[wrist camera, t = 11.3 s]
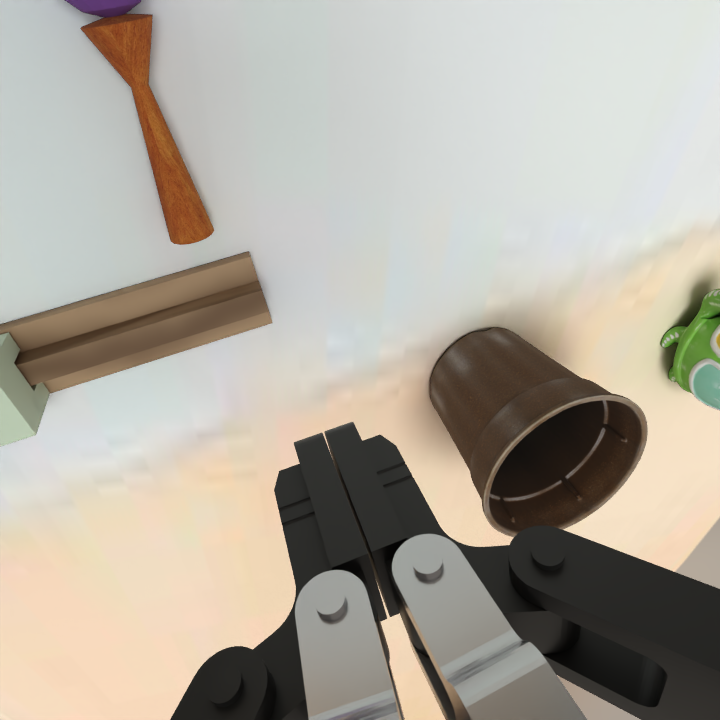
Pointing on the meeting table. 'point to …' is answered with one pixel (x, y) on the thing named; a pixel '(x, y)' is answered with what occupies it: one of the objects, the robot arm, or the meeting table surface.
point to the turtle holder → (698, 352)
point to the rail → (139, 323)
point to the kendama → (148, 112)
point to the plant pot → (534, 431)
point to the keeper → (17, 397)
